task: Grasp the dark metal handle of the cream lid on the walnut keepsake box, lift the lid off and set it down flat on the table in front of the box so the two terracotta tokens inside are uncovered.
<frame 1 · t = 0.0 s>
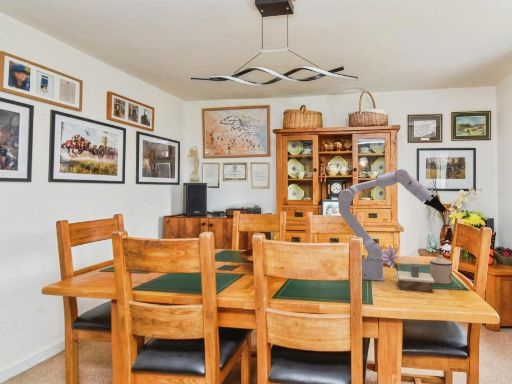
hand: (442, 210, 156), 32 cm above the table, tool tilted 50°, fingers open, 7 cm apart
teacup with lid: (439, 281, 162), on the table
water lily: (387, 266, 192), on the table
walnut box: (414, 286, 151), on the table
cream lid: (414, 277, 151), point 4 cm above the table, touching walnut box
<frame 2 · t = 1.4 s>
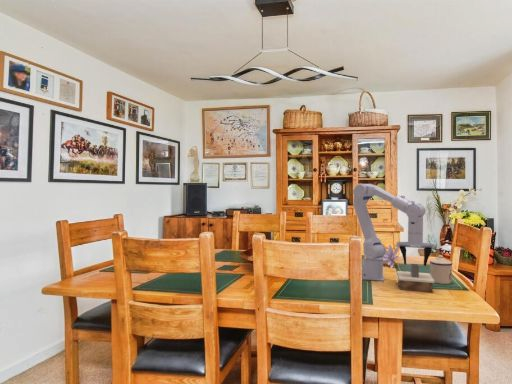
hand: (414, 264, 151), 9 cm above the table, tool pointing down, fingers open, 7 cm apart
nothing on the table moved.
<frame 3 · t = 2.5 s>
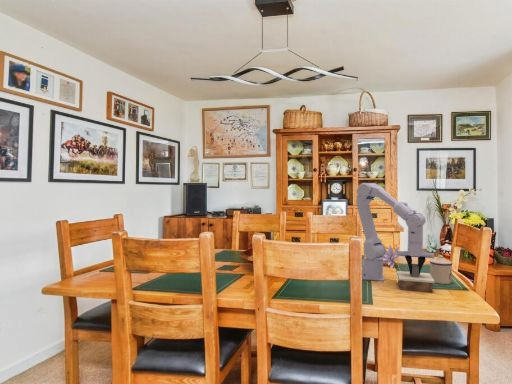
hand: (414, 274, 151), 5 cm above the table, tool pointing down, fingers closed on cream lid, 2 cm apart
cream lid: (414, 277, 151), point 4 cm above the table, touching gripper, walnut box
everything else where it was.
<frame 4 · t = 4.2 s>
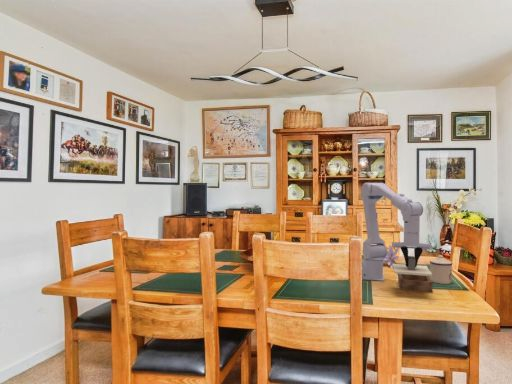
hand: (411, 266, 143), 11 cm above the table, tool pointing down, fingers closed on cream lid, 2 cm apart
cream lid: (411, 270, 143), point 9 cm above the table, touching gripper
everything else where it was.
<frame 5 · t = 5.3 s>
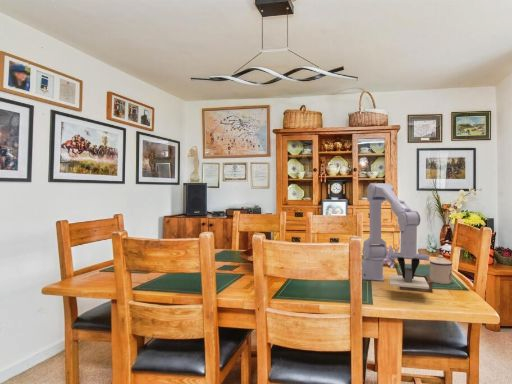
hand: (407, 277, 138), 7 cm above the table, tool pointing down, fingers closed on cream lid, 2 cm apart
cream lid: (407, 282, 138), point 5 cm above the table, touching gripper
everything else where it was.
when the fingers open (3 cm above the table, at t = 6.2 s): cream lid drops 1 cm, on the table.
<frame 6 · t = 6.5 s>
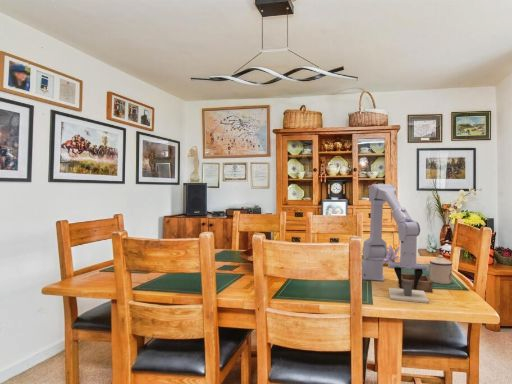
hand: (407, 287, 138), 3 cm above the table, tool pointing down, fingers open, 5 cm apart
cream lid: (407, 295, 139), on the table
everything else where it was.
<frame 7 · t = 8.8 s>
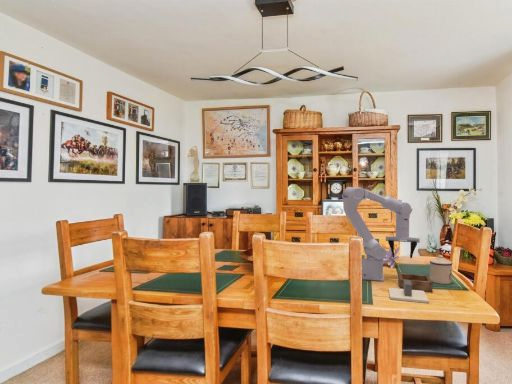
hand: (402, 257, 167), 9 cm above the table, tool pointing down, fingers open, 7 cm apart
nothing on the table moved.
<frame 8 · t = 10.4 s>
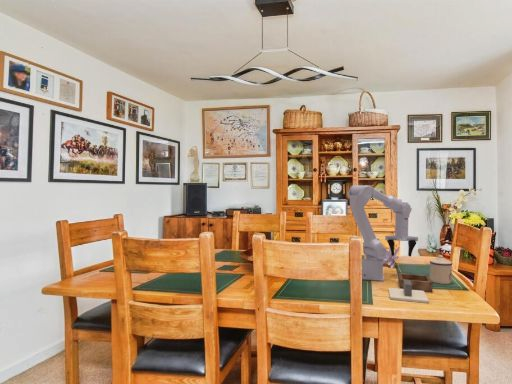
hand: (401, 255, 170), 9 cm above the table, tool pointing down, fingers open, 7 cm apart
nothing on the table moved.
at the end: cream lid touching table; cream lid inside the target area (0.3 cm from its centre), on the table; cream lid tilted 0° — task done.
